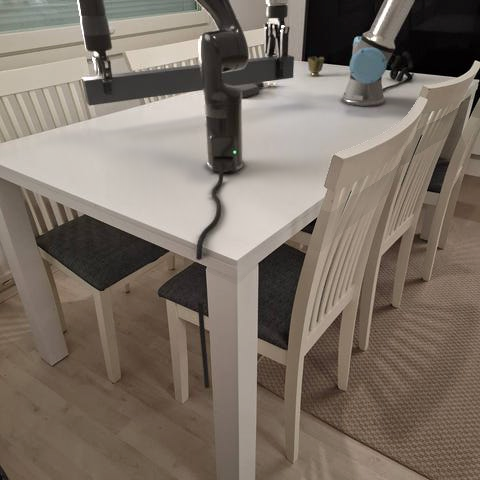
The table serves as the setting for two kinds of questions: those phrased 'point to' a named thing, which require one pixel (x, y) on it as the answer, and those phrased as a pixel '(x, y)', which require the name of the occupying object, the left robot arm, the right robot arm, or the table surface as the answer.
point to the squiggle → (400, 66)
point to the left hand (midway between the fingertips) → (106, 92)
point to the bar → (178, 80)
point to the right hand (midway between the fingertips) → (275, 76)
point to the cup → (315, 65)
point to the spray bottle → (253, 88)
